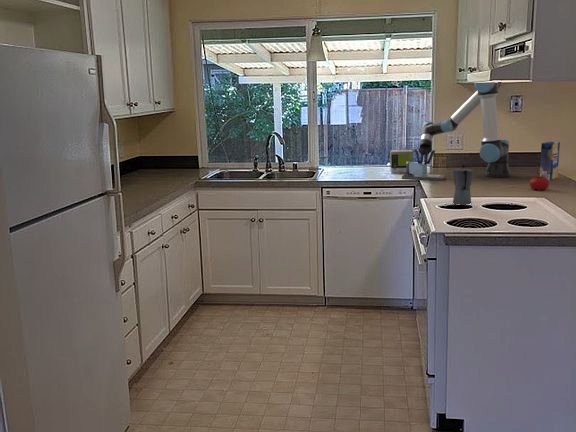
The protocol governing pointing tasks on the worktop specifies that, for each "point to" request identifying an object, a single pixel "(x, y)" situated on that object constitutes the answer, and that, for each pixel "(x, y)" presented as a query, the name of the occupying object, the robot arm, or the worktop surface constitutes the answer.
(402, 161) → the tea box
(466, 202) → the moka pot
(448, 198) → the worktop surface
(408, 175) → the plate
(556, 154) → the beverage box
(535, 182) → the pomegranate
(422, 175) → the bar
